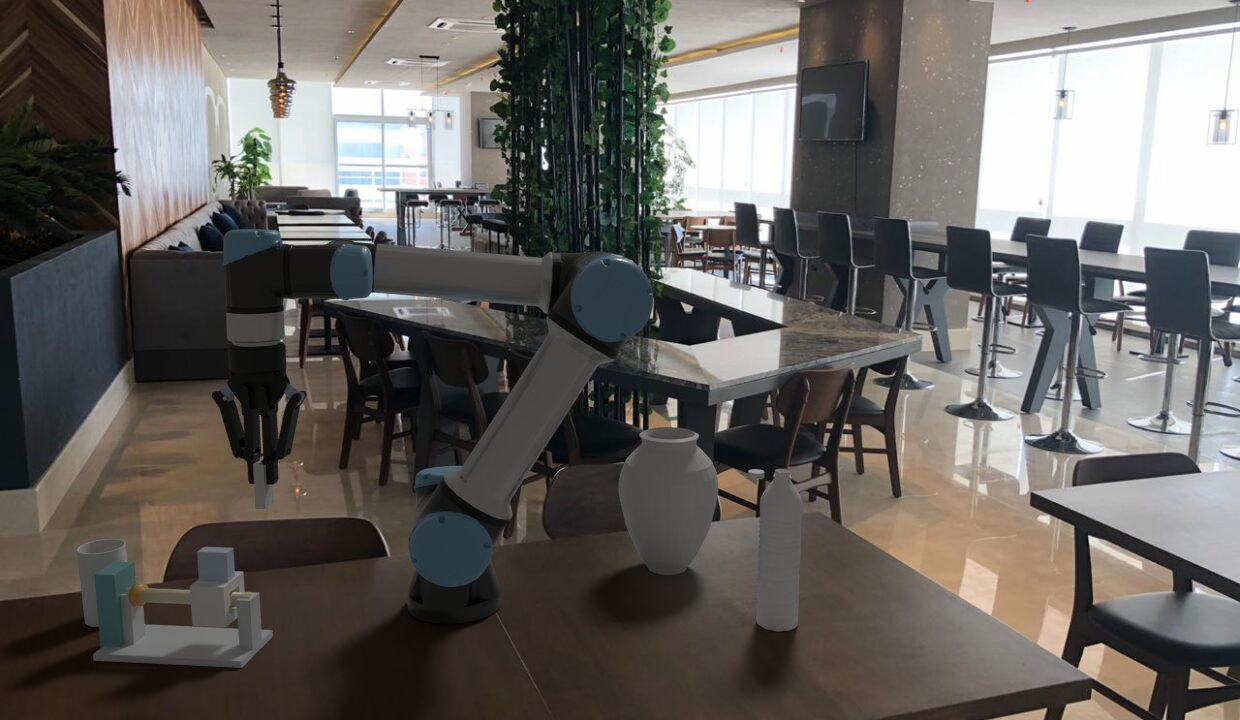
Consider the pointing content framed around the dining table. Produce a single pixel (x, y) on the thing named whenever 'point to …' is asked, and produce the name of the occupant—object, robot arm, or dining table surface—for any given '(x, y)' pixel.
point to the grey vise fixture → (169, 644)
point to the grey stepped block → (215, 588)
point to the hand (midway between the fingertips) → (264, 505)
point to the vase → (668, 498)
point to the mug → (96, 570)
